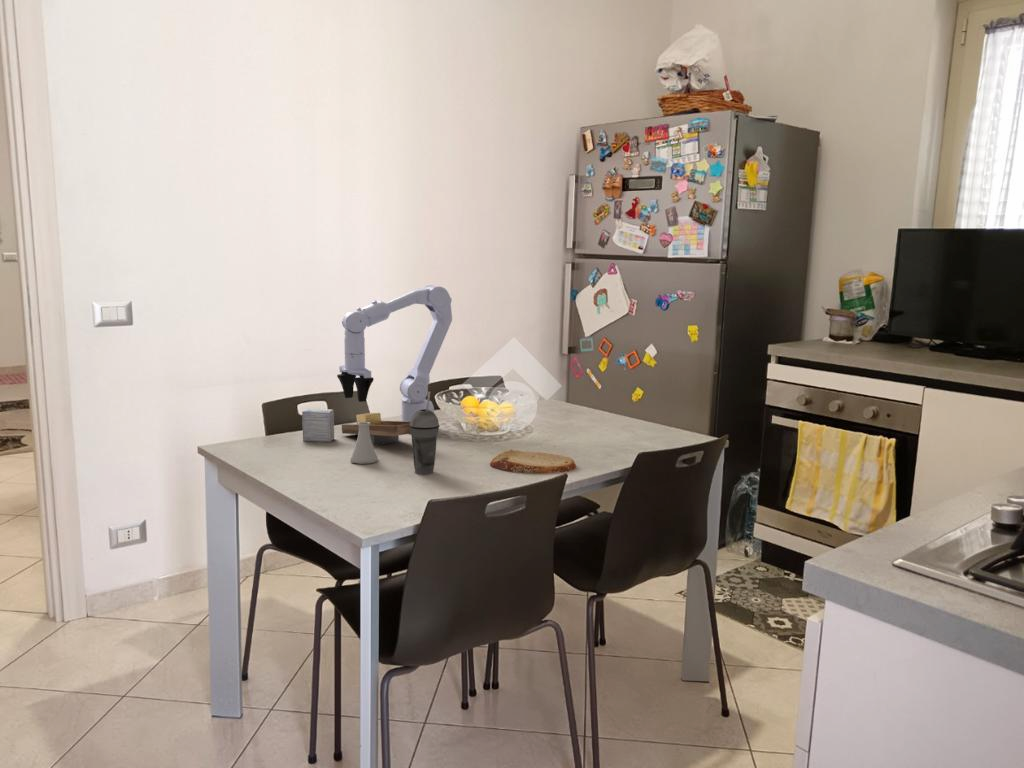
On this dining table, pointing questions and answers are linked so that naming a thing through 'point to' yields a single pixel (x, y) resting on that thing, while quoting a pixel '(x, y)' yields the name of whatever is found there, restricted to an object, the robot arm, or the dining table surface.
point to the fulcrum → (383, 439)
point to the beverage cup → (424, 439)
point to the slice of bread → (532, 462)
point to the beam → (381, 428)
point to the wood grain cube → (369, 418)
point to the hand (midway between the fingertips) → (355, 399)
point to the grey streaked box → (318, 425)
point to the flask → (363, 446)
